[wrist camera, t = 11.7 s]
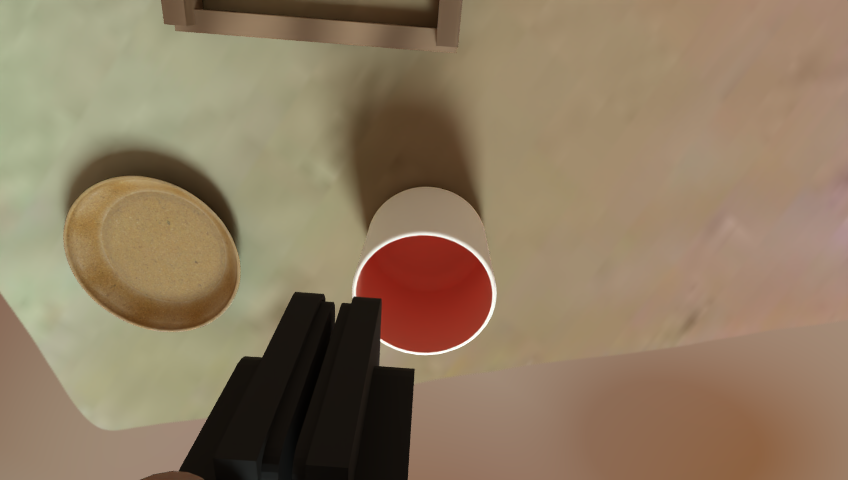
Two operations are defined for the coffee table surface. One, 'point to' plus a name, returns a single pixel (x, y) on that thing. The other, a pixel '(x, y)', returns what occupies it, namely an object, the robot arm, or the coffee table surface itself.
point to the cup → (427, 271)
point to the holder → (318, 27)
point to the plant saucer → (151, 254)
